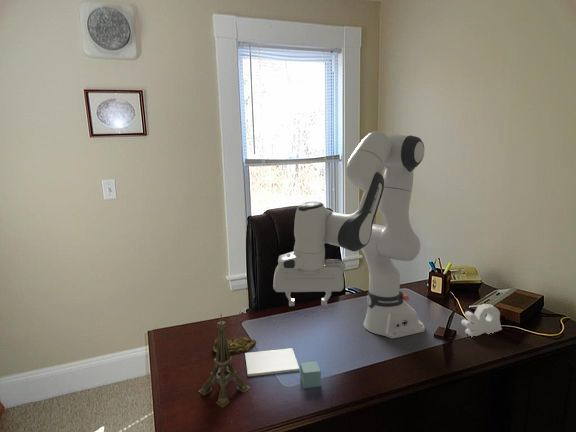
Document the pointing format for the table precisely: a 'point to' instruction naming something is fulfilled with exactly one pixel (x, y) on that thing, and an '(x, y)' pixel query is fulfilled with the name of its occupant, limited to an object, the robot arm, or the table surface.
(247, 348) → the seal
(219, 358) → the eiffel tower
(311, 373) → the cube
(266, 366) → the board
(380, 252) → the robot arm
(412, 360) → the table surface
